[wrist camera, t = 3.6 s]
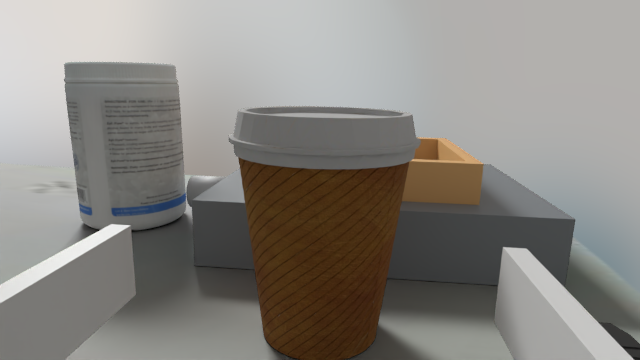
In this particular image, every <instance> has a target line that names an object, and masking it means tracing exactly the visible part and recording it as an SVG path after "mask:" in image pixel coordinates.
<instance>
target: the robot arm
mask: <svg viewBox="0 0 640 360" xmlns="http://www.w3.org/2000/svg"><path fill="white" fill-rule="evenodd" d="M135 295H136V287H135V274H134V260H133V247H132V234H131V225H116V224H111V225H109V226H107V227H105V228H103V229H101V230H100V231H98V232H96V233H94V234H92V235H90V236H89V237H87V238H85V239H83V240H81V241H79V242H78V243H76V244H74V245H72V246H70V247H68V248H67V249H65V250H63V251H61V252H59V253H57V254H56V255H54V256H52V257H50V258H48V259H46V260H45V261H43V262H41V263H39V264H37V265H35V266H34V267H32V268H30V269H28V270H26V271H24V272H23V273H21V274H19V275H17V276H15V277H13V278H12V279H10V280H8V281H6V282H4V283H3V284H1V285H0V360H65V359H66V358H67V357H68V356H69V355H70V354H71V353H73V352H74V351H75V350H76V349H77V348H78V347H79V346H80V345H81V344H82V343H84V342H85V341H86V340H87V339H88V338H89V337H90V336H91V335H92V334H93V333H95V332H96V331H97V330H98V329H99V328H100V327H101V326H102V325H103V324H104V323H106V322H107V321H108V320H109V319H110V318H111V317H112V316H113V315H114V314H115V313H117V312H118V311H119V310H120V309H121V308H122V307H123V306H124V305H125V304H126V303H128V302H129V301H130V300H131V299H132V298H133V297H134V296H135ZM494 323H495V325H496V326H497V328H498V330H499V332H500V334H501V336H502V338H503V340H504V341H505V343H506V345H507V347H508V349H509V351H510V353H511V355H512V357H513V358H514V360H640V344H639V343H638V342H637V341H636V340H635V339H634V338H633V337H632V336H631V335H629V334H628V333H626V332H624V331H623V330H621V329H619V328H617V327H616V326H614V325H612V324H611V323H600V322H597V321H596V320H595V319H594V318H593V317H592V316H591V315H590V314H589V313H588V312H587V311H586V309H585V308H584V307H583V306H582V305H581V304H580V303H579V302H578V301H577V300H576V299H575V298H574V297H573V296H572V295H571V294H570V293H569V292H568V291H567V290H566V289H565V288H564V287H563V286H562V285H561V284H560V283H559V282H558V280H557V279H556V278H555V277H554V276H553V275H552V274H551V273H550V272H549V271H548V270H547V269H546V268H545V267H544V266H543V265H542V264H541V263H540V262H539V261H538V260H537V259H536V258H535V257H534V256H533V255H532V254H531V253H530V251H529V250H528V249H526V248H509V247H503V250H502V259H501V267H500V275H499V283H498V292H497V300H496V308H495V317H494Z"/></svg>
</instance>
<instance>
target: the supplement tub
mask: <svg viewBox="0 0 640 360" xmlns="http://www.w3.org/2000/svg"><path fill="white" fill-rule="evenodd" d="M64 67H65V79H64V81H65V83H66V84H65V92H66V101H67V110H68V118H69V126H70V134H71V141H72V150H73V158H74V166H75V175H76V183H77V192H78V199H79V207H80V216H81V219H82V221H83V222H84V223H85V224H86V225H88V226H90V227H92V228H95V229H99V230H101V229H103V228H105V227H107V226H109V225H111V224H116V225H131V230H143V229H149V228H154V227H158V226H161V225H165V224H167V223H170V222H172V221H174V220H176V219H178V218H179V217H180V216H182V214H183V213H184V212H185V209H186V193H185V178H184V161H183V146H182V131H181V114H180V100H179V88H178V87H179V86H178V84H177V82H178V81H177V79H176V69H175V66H174V65H169V64H155V63H154V64H153V63H127V62H126V63H125V62H68V63H65V64H64Z"/></svg>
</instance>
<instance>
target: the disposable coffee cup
mask: <svg viewBox="0 0 640 360" xmlns="http://www.w3.org/2000/svg"><path fill="white" fill-rule="evenodd" d="M228 137H229V142H230V143H231V144H234V153H235V155H236V156H237V157H238V158H239V164H240V172H241V177H242V186H243V191H244V200H245V206H246V212H247V221H248V226H249V235H250V240H251V247H252V254H253V263H254V268H255V275H256V282H257V289H258V296H259V303H260V310H261V318H262V324H263V333H264V337H265V338H266V340H267V342H268V343H269V344H270V345H271V346H272V347H273V348H275V349H276V350H278V351H279V352H281V353H283V354H285V355H287V356H290V357H293V358H297V359H300V360H343V359H347V358H350V357H353V356H355V355H358V354H360V353H361V352H363V351H365V350H366V349H367V348H368V347H369V346H370V345H371V344H372V343H373V341H374V339H375V337H376V330H377V326H378V321H379V315H380V310H381V307H382V301H383V296H384V291H385V286H386V281H387V275H388V270H389V265H390V259H391V255H392V249H393V243H394V239H395V233H396V228H397V223H398V218H399V214H400V207H401V203H402V197H403V192H404V187H405V182H406V177H407V171H408V167H409V161H411V160H412V159H413V158H414V155H415V149H416V148H418V147H419V146H420V143H421V140H420V139H419V138H417V137H416V135H415V129H414V122H413V116H412V114H411V113H407V112H401V111H394V110H382V109H369V108H347V107H315V106H276V107H274V106H273V107H254V108H243V109H240V110H238V113H237V119H236V124H235V130H234V133H231V134H230V135H228Z"/></svg>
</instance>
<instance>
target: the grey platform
mask: <svg viewBox="0 0 640 360" xmlns="http://www.w3.org/2000/svg"><path fill="white" fill-rule="evenodd" d="M417 138H418V137H417ZM419 139H420V140H421V143H420V146H419V147H418V148H416V149H415V155H414V158H413V159H412V160H411V161H409V167H408V171H407V177H406V182H405V187H404V192H403V197H402V203H401V207H400V214H399V218H398V223H397V228H396V233H395V239H394V243H393V249H392V255H391V259H390V265H389V270H388V275H387V278H392V279H408V280H423V281H438V282H454V283H469V284H484V285H498V283H499V275H500V267H501V259H502V250H503V247H509V248H526V249H528V250H529V251H530V253H531V254H532V255H533V256H534V257H535V258H536V259H537V260H538V261H539V262H540V263H541V264H542V265H543V266H544V267H545V268H546V269H547V270H548V271H549V272H550V273H551V274H552V275H553V276H554V277H555V278H556V279H557V280H558V282H559V283H560V284H561V285H562V286H563V287H564V288H565V282H566V276H567V270H568V263H569V257H570V250H571V244H572V238H573V231H574V225H575V219H574V218H572V217H571V216H569V215H568V214H566V213H565V212H563V211H562V210H560V209H558V208H557V207H555V206H554V205H552V204H551V203H549V202H548V201H546V200H545V199H543V198H541V197H540V196H538V195H537V194H535V193H534V192H532V191H530V190H529V189H527V188H526V187H524V186H523V185H521V184H520V183H518V182H517V181H515V180H514V179H512V178H511V177H509V176H507V175H506V174H504V173H503V172H501V171H500V170H498V169H496V168H495V167H494V166H492V165H488V164H487V165H486V164H482V163H481V162H480V161H478V160H477V159H475V158H474V157H472V156H471V155H469V154H468V153H466V152H465V151H464V150H462V149H461V148H459V147H458V146H456V145H455V144H453V143H452V142H450V141H449V140H447V139H446V138H419ZM187 201H188V204H189V206H190V207H192V216H193V240H194V263H195V266H208V267H223V268H239V269H254V270H255V268H254V263H253V254H252V247H251V240H250V235H249V226H248V221H247V212H246V206H245V200H244V191H243V186H242V177H241V172H240V168H239V169H238V170H236V171H235V172H233V173H232V174H230V175H229V176H227V177H216V176H191V177H190V179H189V181H188V185H187Z"/></svg>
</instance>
